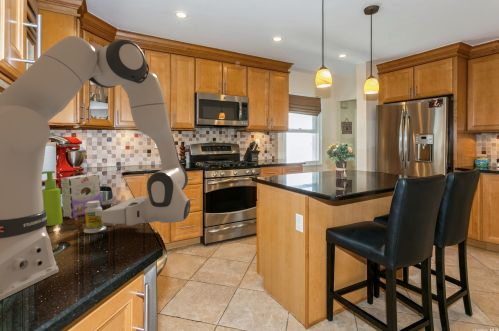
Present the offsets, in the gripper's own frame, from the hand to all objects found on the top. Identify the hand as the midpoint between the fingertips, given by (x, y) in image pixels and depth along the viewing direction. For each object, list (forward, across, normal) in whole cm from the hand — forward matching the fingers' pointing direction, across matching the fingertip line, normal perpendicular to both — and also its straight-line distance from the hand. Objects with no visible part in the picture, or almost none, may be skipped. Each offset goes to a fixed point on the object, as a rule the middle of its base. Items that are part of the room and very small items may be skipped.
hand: (104, 209), depth 100 cm
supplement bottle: (+4, 0, +7) cm, 8 cm away
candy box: (+23, -21, +8) cm, 32 cm away
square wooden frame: (+4, -9, +7) cm, 12 cm away
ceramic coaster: (+4, 0, +7) cm, 8 cm away
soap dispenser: (+25, -6, +8) cm, 27 cm away
